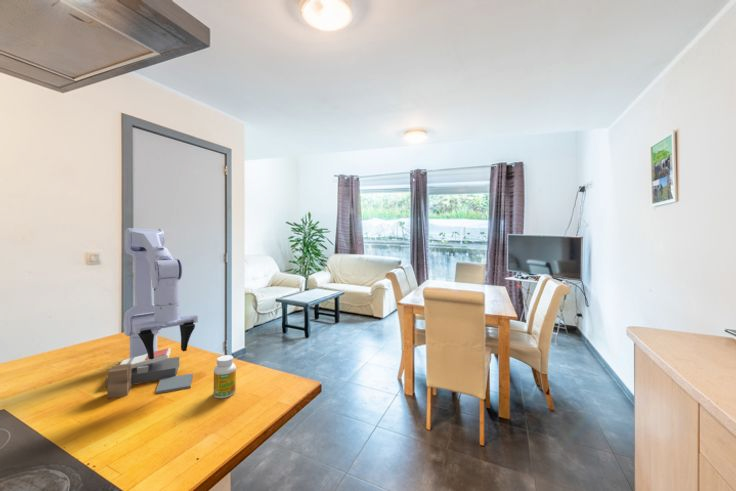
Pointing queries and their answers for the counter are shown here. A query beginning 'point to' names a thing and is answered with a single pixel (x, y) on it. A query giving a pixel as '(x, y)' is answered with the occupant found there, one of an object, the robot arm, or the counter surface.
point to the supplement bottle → (224, 377)
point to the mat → (174, 383)
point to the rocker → (145, 360)
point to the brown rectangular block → (119, 380)
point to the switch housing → (154, 371)
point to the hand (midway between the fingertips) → (168, 354)
